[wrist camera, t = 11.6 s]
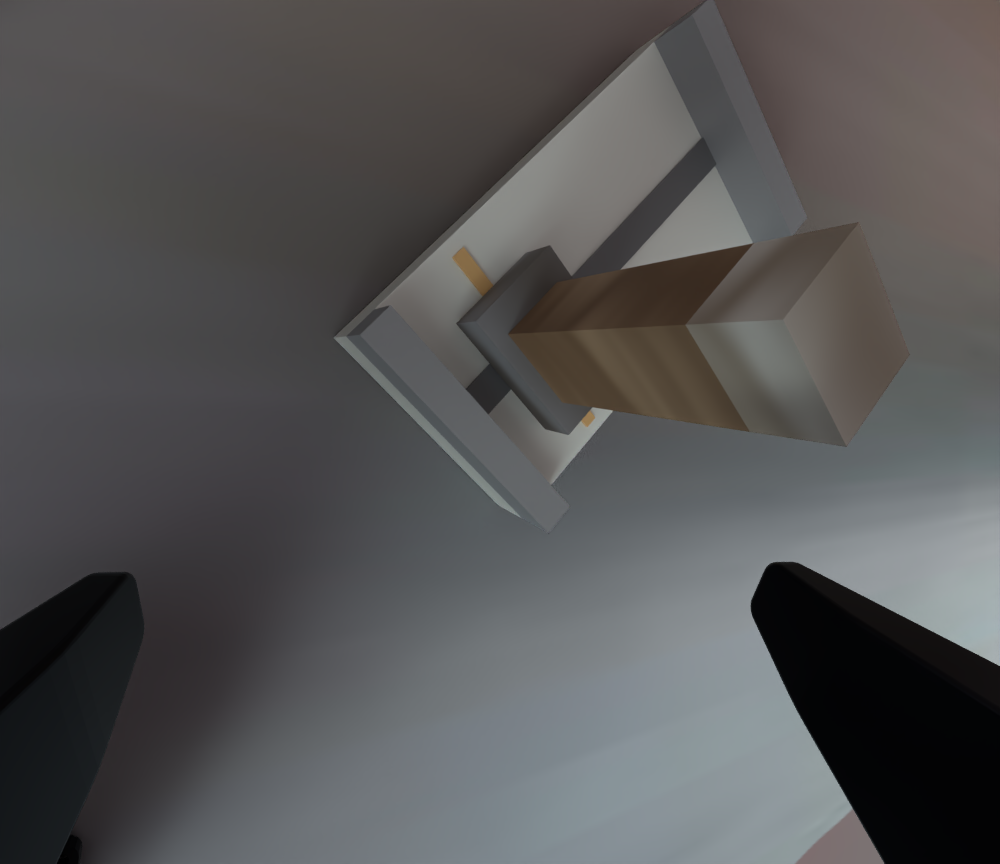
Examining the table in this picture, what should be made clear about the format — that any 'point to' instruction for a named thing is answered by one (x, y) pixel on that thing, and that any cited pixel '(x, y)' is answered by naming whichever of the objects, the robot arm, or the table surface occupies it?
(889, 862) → the robot arm
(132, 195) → the table surface
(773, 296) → the fader
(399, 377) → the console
